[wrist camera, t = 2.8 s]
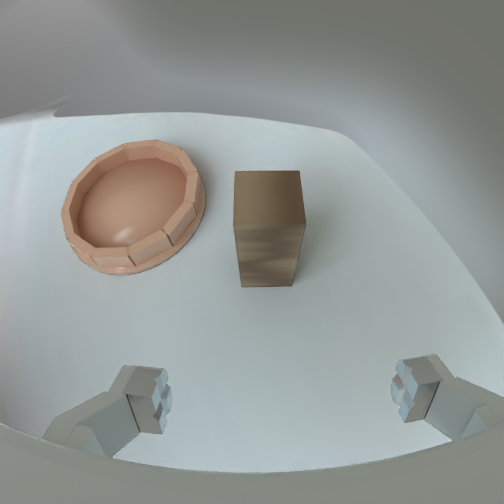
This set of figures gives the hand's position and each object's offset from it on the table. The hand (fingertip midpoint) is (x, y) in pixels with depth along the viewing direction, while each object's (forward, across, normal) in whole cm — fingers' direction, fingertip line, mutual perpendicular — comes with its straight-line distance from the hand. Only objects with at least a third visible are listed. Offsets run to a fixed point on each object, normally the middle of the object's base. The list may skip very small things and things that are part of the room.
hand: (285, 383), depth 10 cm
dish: (+24, +14, -3) cm, 28 cm away
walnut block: (+19, 0, +2) cm, 19 cm away
